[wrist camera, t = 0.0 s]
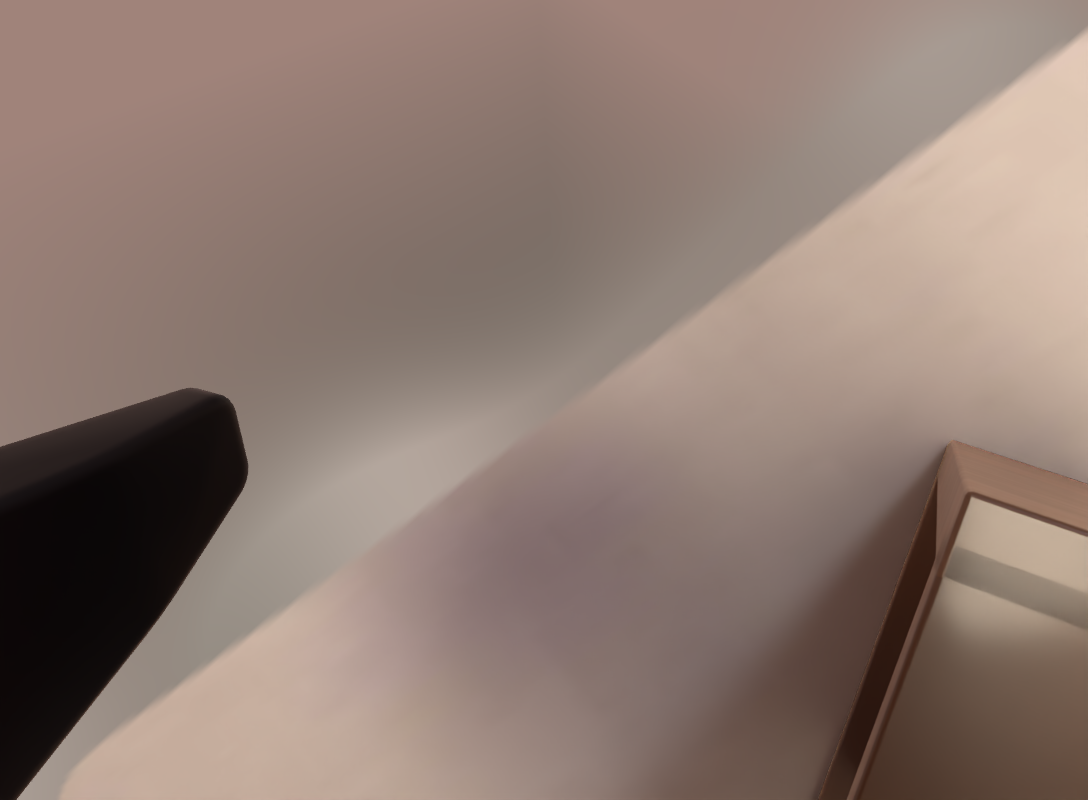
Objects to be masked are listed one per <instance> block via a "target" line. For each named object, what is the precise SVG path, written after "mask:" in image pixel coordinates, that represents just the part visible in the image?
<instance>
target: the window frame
mask: <svg viewBox="0 0 1088 800" xmlns="http://www.w3.org/2000/svg"><path fill="white" fill-rule="evenodd" d="M818 800H1088V484H1086V483H1083V482H1080V481H1077V480H1074V479H1071V478H1067V477H1064V476H1061V475H1058V474H1055V473H1052V472H1049V471H1046V470H1043V469H1040V468H1037V467H1034V466H1031V465H1028V464H1025V463H1022V462H1019V461H1016V460H1013V459H1009V458H1006V457H1003V456H1000V455H997V454H994V453H991V452H988V451H985V450H982V449H979V448H976V447H973V446H970V445H967V444H964V443H961V442H958V441H955V440H951V441H950V443H948V445H947V448H946V450H945V453H944V456H943V458H942V461H941V464H940V467H939V469H938V472H937V475H936V478H935V480H934V483H933V486H932V489H931V491H930V494H929V497H928V500H927V502H926V505H925V508H924V510H923V513H922V516H921V519H920V521H919V524H918V527H917V530H916V532H915V535H914V538H913V541H912V543H911V546H910V549H909V551H908V554H907V557H906V560H905V562H904V565H903V568H902V571H901V573H900V576H899V579H898V582H897V584H896V587H895V590H894V593H893V595H892V598H891V601H890V603H889V606H888V609H887V612H886V614H885V617H884V620H883V623H882V625H881V628H880V631H879V634H878V636H877V639H876V642H875V645H874V647H873V650H872V653H871V655H870V658H869V661H868V664H867V666H866V669H865V672H864V675H863V677H862V680H861V683H860V686H859V688H858V691H857V694H856V696H855V699H854V702H853V705H852V707H851V710H850V713H849V716H848V718H847V721H846V724H845V727H844V729H843V732H842V735H841V738H840V740H839V743H838V746H837V748H836V751H835V754H834V757H833V759H832V762H831V765H830V768H829V770H828V773H827V776H826V779H825V781H824V784H823V787H822V790H821V792H820V795H819V798H818Z"/></svg>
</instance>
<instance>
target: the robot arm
mask: <svg viewBox="0 0 1088 800" xmlns="http://www.w3.org/2000/svg"><path fill="white" fill-rule="evenodd" d="M247 475H248V461H247V457H246V453H245V449H244V444H243V440H242V436H241V432H240V428H239V424H238V419H237V415H236V411H235V408H234V406H233V404H232V403H231V402H230V400H229V399H228V398H226V397H225V396H223V395H219V394H215V393H212V392H208V391H204V390H201V389H195V388H186V389H182V390H178V391H176V392H172V393H169V394H166V395H163V396H160V397H156V398H153V399H150V400H147V401H144V402H141V403H137V404H134V405H131V406H128V407H125V408H122V409H119V410H115V411H112V412H109V413H106V414H103V415H100V416H96V417H93V418H90V419H87V420H84V421H81V422H77V423H74V424H71V425H68V426H65V427H62V428H58V429H56V430H52V431H49V432H46V433H43V434H40V435H36V436H33V437H31V438H27V439H24V440H21V441H17V442H14V443H11V444H8V445H5V446H2V447H0V800H17V798H18V797H19V796H20V794H21V793H22V792H23V791H24V789H25V788H26V787H27V786H28V784H29V783H30V782H31V780H32V779H33V778H34V777H35V776H36V774H37V773H38V772H39V770H40V769H41V768H42V767H43V765H44V764H45V763H46V762H47V760H48V759H49V758H50V757H51V755H52V754H53V753H54V751H55V750H56V749H57V748H58V746H59V745H60V744H61V743H62V741H63V740H64V739H65V738H66V736H67V735H68V734H69V732H70V731H71V730H72V729H73V727H74V726H75V725H76V724H77V722H78V721H79V720H80V718H81V717H82V716H83V715H84V714H85V712H86V711H87V710H88V708H89V707H90V706H91V705H92V703H93V702H94V701H95V699H96V698H97V697H98V696H99V695H100V693H101V692H102V691H103V690H104V688H105V687H106V686H107V684H108V683H109V682H110V681H111V679H112V678H113V677H114V676H115V674H116V673H117V672H118V670H119V669H120V668H121V667H122V665H123V664H124V663H125V662H126V660H127V659H128V658H129V657H130V655H131V654H132V652H134V650H135V649H136V648H137V647H138V645H139V644H140V643H141V641H142V640H143V639H144V638H145V636H146V635H147V634H148V632H149V631H150V630H151V628H152V627H153V625H154V624H155V623H156V622H157V620H158V619H159V618H160V616H161V615H162V614H163V612H164V611H165V609H166V608H167V606H168V605H169V603H170V602H171V600H172V599H173V597H174V596H175V594H176V593H177V591H178V590H179V588H180V587H181V585H182V584H183V582H184V580H185V579H186V577H187V576H188V574H189V573H190V571H191V570H192V568H193V566H194V565H195V563H196V562H197V560H198V559H199V557H200V556H201V554H202V553H203V551H204V549H205V548H206V546H207V545H208V543H209V542H210V540H211V539H212V537H213V535H214V534H215V532H216V531H217V529H218V528H219V526H220V524H221V523H222V521H223V520H224V518H225V517H226V515H227V514H228V512H229V511H230V509H231V507H232V506H233V504H234V503H235V501H236V500H237V498H238V497H239V495H240V493H241V492H242V490H243V488H244V486H245V483H246V480H247Z"/></svg>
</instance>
